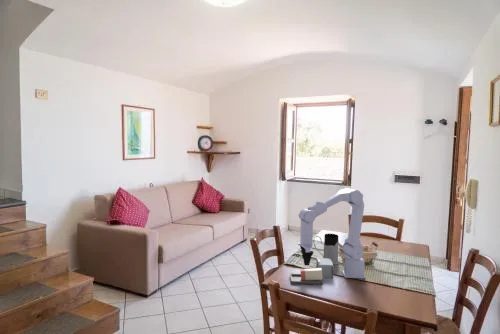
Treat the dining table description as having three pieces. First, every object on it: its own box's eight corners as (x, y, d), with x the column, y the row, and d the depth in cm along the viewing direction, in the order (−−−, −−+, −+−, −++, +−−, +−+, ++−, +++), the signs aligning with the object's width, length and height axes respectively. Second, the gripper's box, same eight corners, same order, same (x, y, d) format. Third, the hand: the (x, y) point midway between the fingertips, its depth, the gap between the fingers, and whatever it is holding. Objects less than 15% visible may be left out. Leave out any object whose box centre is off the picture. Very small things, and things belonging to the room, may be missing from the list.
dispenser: (329, 270, 167) (330, 257, 166) (333, 277, 158) (333, 264, 157) (316, 270, 167) (316, 256, 166) (318, 277, 158) (319, 263, 157)
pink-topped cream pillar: (321, 277, 155) (321, 268, 154) (322, 279, 152) (321, 270, 152) (301, 278, 155) (300, 269, 155) (301, 280, 153) (300, 271, 153)
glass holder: (338, 265, 174) (339, 238, 172) (311, 262, 178) (312, 235, 177) (339, 259, 182) (340, 234, 181) (313, 256, 186) (314, 231, 185)
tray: (318, 277, 158) (319, 274, 158) (321, 285, 149) (321, 282, 149) (290, 276, 159) (290, 273, 159) (291, 284, 150) (291, 281, 150)
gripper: (296, 229, 160) (296, 256, 161) (299, 238, 145) (298, 267, 146) (311, 230, 159) (310, 256, 160) (315, 239, 145) (314, 268, 146)
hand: (305, 261), depth 153 cm, fingers open, 7 cm apart
